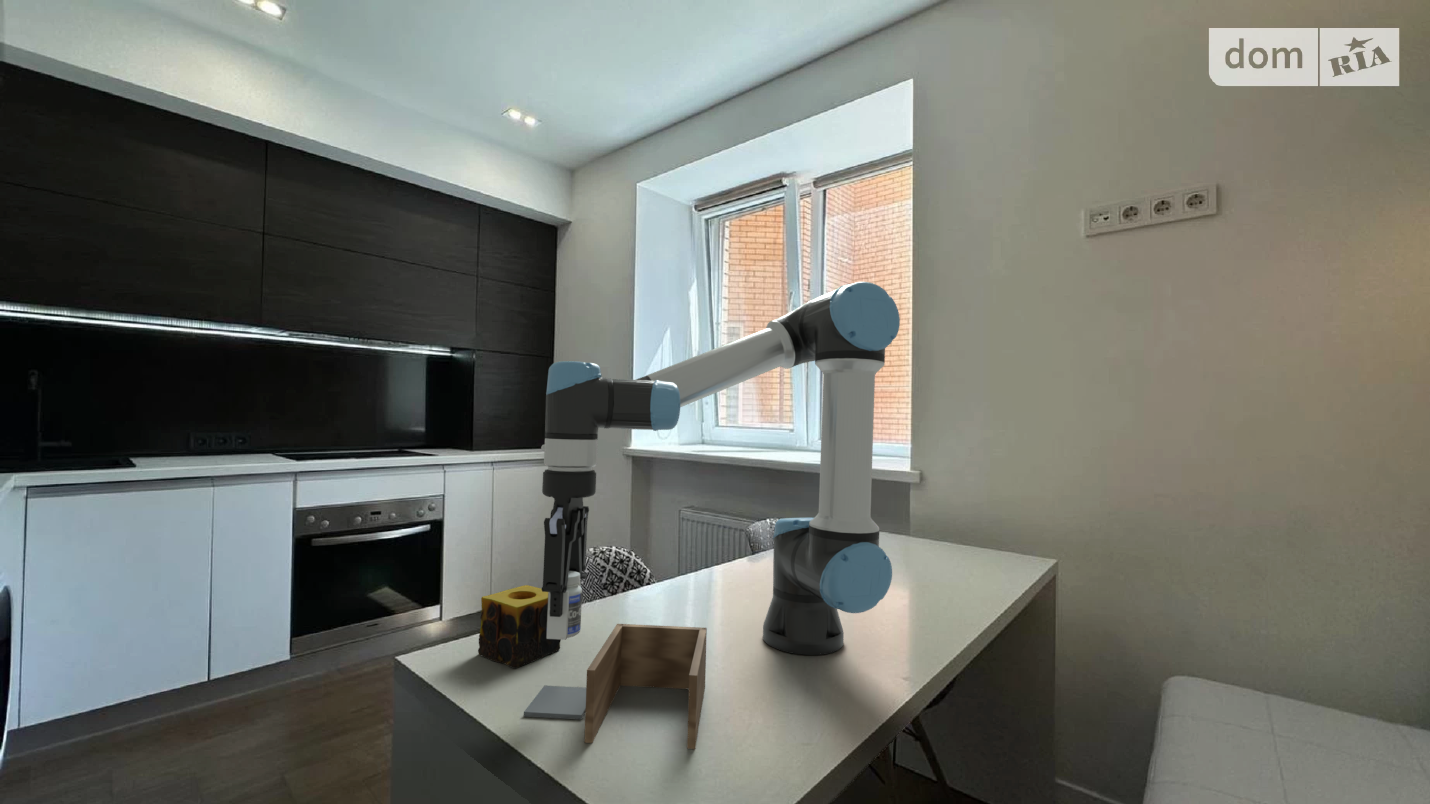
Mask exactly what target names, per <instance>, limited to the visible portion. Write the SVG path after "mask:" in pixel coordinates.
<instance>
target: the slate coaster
mask: <svg viewBox="0 0 1430 804" xmlns="http://www.w3.org/2000/svg"><path fill="white" fill-rule="evenodd" d="M585 712H586V687H583V686H582V687H581V686H565V685H561V686H560V685H546V684H545V685H543V687H541V689H540V691H539V692H538V693H537V694H536V696H535V697H534V698H533V699H532V701H531V702H530V703H529V705H528V706H527V707H526V708H525V710H524V711H523V717H526V718H527V717H528V718H529V717H531V718H547V719H549V718H550V719H565V720H566V719H567V720H582V719H583V718H584V717H585Z"/></svg>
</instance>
